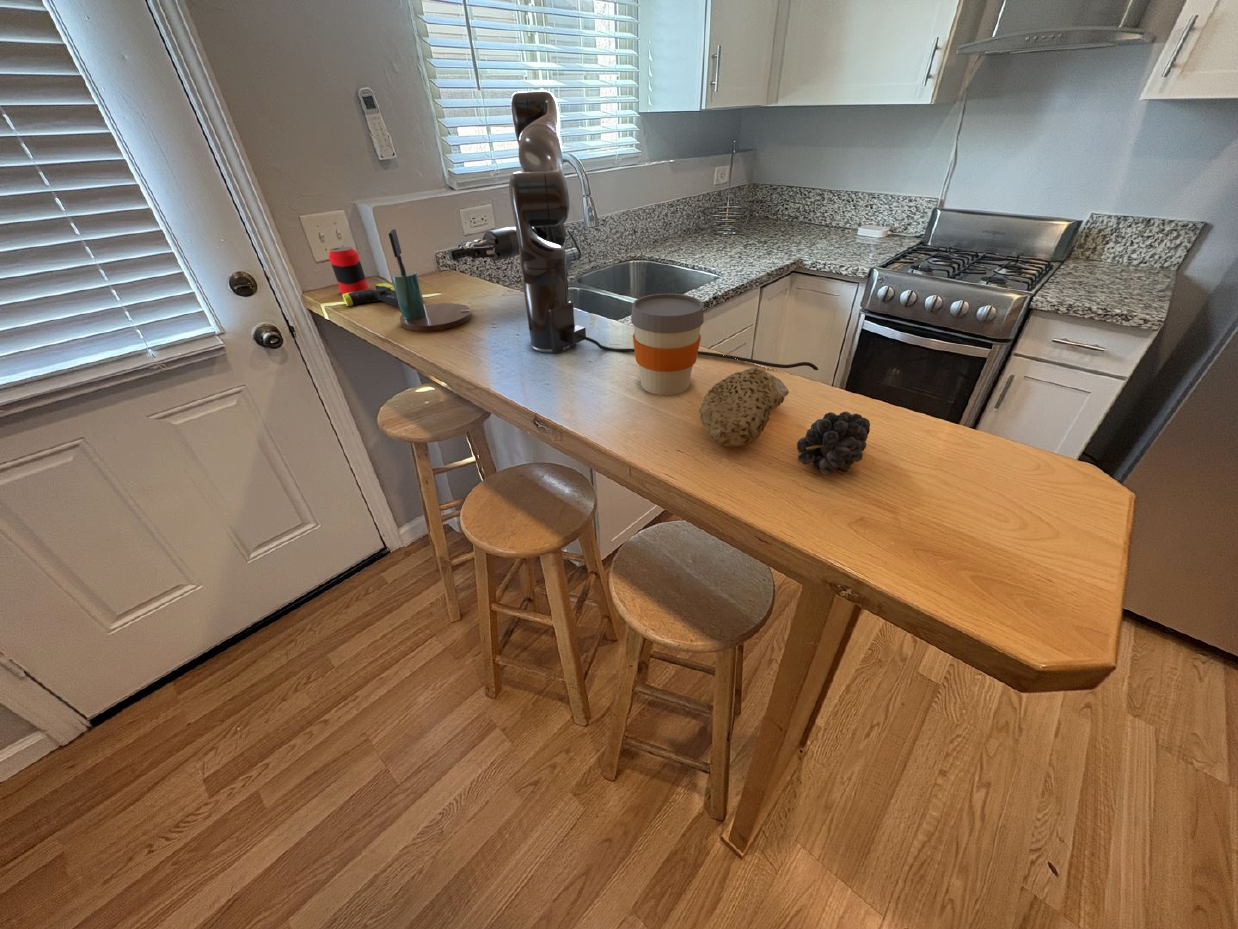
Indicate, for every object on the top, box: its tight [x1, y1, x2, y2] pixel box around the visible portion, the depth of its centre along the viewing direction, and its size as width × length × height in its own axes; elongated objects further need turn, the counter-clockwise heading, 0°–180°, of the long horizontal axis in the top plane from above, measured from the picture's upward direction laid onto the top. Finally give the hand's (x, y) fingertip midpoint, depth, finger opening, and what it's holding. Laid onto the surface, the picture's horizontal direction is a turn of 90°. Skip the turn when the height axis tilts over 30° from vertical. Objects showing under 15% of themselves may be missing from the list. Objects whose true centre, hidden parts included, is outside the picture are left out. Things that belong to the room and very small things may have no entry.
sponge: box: [698, 367, 789, 448], centre depth 78 cm, size 13×8×20 cm
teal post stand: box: [388, 229, 472, 332], centre depth 117 cm, size 17×17×20 cm
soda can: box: [328, 246, 370, 295], centre depth 142 cm, size 8×8×12 cm
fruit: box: [796, 411, 871, 476], centre depth 69 cm, size 9×8×15 cm
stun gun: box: [341, 282, 400, 309], centre depth 135 cm, size 3×19×15 cm
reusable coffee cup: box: [630, 293, 704, 396], centre depth 87 cm, size 13×13×15 cm
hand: (450, 255), depth 123 cm, fingers closed
